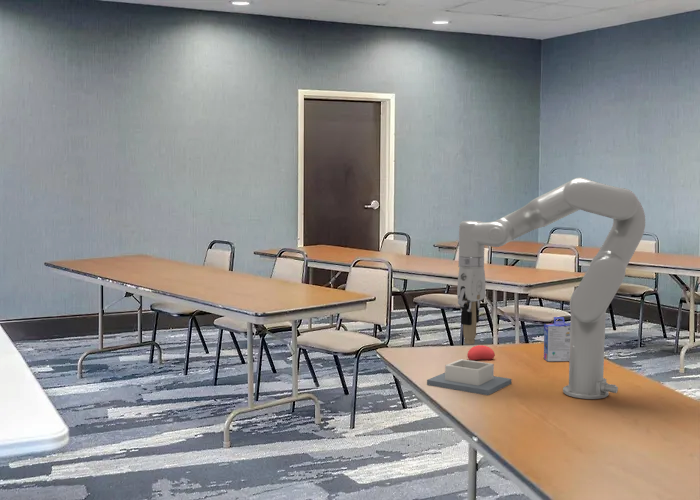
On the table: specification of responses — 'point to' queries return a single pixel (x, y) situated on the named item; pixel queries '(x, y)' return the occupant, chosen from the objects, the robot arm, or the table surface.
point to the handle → (471, 329)
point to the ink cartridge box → (557, 340)
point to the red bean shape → (480, 353)
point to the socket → (470, 377)
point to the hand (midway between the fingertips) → (470, 322)
